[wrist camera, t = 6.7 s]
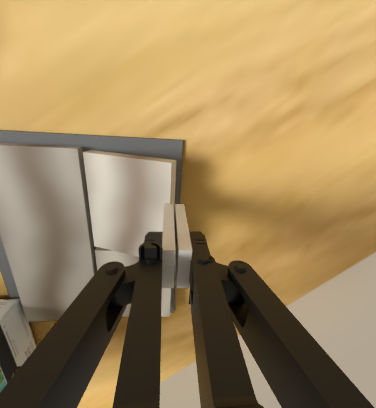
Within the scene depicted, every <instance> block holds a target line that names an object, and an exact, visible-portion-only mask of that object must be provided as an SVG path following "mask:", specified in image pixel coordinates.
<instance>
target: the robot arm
mask: <svg viewBox="0 0 376 408" xmlns="http://www.w3.org/2000/svg"><path fill="white" fill-rule="evenodd" d="M138 249H139V261H138V262H137V263H135V264H133V265H130V266H126V267H125V266H124V264H122V263H121V262H117V261H112V262H108V263H106V264H104V265H102V266H101V267H100V268H99V270H98V271H97V272H96V273H95V275H94V276H93V277H92V278H91V280H90V281H89V282H88V283H87V285H86V286H85V287H84V288H83V290H82V291H81V292H80V293H79V295H78V296H77V297H76V298H75V300H74V301H73V302H72V303H71V305H70V306H69V307H68V308H67V310H66V311H65V312H64V313H63V315H62V316H61V317H60V318H59V320H58V321H57V322H56V323H55V325H54V326H53V327H52V328H51V330H50V331H49V332H48V333H47V335H46V336H45V337H44V338H43V340H42V341H41V342H40V343H39V345H38V346H37V347H36V348H35V350H34V351H33V352H32V353H31V355H30V356H29V357H28V358H27V360H26V361H25V362H24V363H23V365H22V366H21V367H20V368H19V370H18V371H17V372H16V373H15V375H14V376H13V377H12V378H11V380H10V381H9V382H8V383H7V385H6V386H5V387H4V388H3V390H2V391H1V392H0V408H77V406H78V404H79V402H80V400H81V398H82V396H83V394H84V392H85V390H86V388H87V386H88V384H89V382H90V380H91V378H92V376H93V374H94V372H95V370H96V368H97V366H98V364H99V362H100V360H101V358H102V356H103V354H104V352H105V350H106V348H107V346H108V344H109V342H110V340H111V338H112V336H113V334H114V331H115V329H116V327H117V325H118V323H119V321H120V319H121V317H122V315H123V313H124V311H125V309H126V307H127V305H128V304H131V307H130V313H129V319H128V324H127V330H126V335H125V341H124V347H123V352H122V358H121V364H120V369H119V375H118V380H117V386H116V392H115V397H114V403H113V408H159V400H160V399H159V398H160V351H161V301H162V288H174V272H175V264H176V285H177V288H189V283H190V295H189V304H191V314H192V324H193V333H194V343H195V353H196V363H197V372H198V383H199V393H200V402H201V408H264V407H263V406H261V405H260V404H258V402H257V400H256V397H255V394H254V391H253V387H252V384H251V380H250V377H249V374H248V370H247V367H246V364H245V360H244V357H243V353H242V350H241V347H240V343H239V340H238V336H237V333H236V330H235V326H236V328H237V329H238V331H239V333H240V335H241V336H242V338H243V340H244V342H245V343H246V345H247V347H248V348H249V350H250V352H251V354H252V356H253V357H254V359H255V361H256V363H257V365H258V366H259V368H260V370H261V372H262V373H263V375H264V377H265V379H266V380H267V382H268V384H269V386H270V387H271V389H272V391H273V393H274V395H275V396H276V398H277V400H278V402H279V403H280V405H281V407H282V408H374V407H373V406H372V405H371V403H370V402H369V401H368V400H367V399H366V398H365V397H364V395H363V394H362V393H361V392H360V391H359V390H358V389H357V387H356V386H355V385H354V384H353V383H352V382H351V381H350V379H349V378H348V377H347V376H346V375H345V374H344V373H343V371H342V370H341V369H340V368H339V367H338V366H337V365H336V363H335V362H334V361H333V360H332V359H331V358H330V357H329V355H327V354H326V352H325V351H324V350H323V349H322V347H321V346H320V345H319V344H318V343H317V342H316V341H315V339H314V338H313V337H312V336H311V335H310V334H309V333H308V331H307V330H306V329H305V328H304V327H303V326H302V325H301V323H300V322H299V321H298V320H297V319H296V318H295V317H294V315H293V314H292V313H291V312H290V311H289V310H288V309H287V307H286V306H285V305H284V304H283V303H282V302H281V301H280V299H279V298H278V297H277V296H276V295H275V294H274V293H273V291H272V290H271V289H270V288H269V287H268V286H267V285H266V283H265V282H264V281H263V280H262V279H261V278H260V277H259V275H258V274H257V273H256V272H255V271H254V270H253V269H252V267H251V266H250V265H248V264H247V263H245V262H243V261H232V262H231V263H230V264H229V266H226V265H222V264H219V263H216V262H215V260H214V258H213V257H212V256H211V255H210V252H209V249H208V246H207V242H206V239H205V235H203V234H202V233H201V232H189V228H188V223H187V217H186V211H185V205H184V204H175V221H174V211H173V204H164V215H163V232H148V233H147V234H146V235H145V239H144V243H143V244H141V245H140V246H139V248H138ZM233 322H234V323H233ZM234 324H235V326H234Z"/></svg>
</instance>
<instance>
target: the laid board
mask: <svg viewBox="0 0 376 408" xmlns="http://www.w3.org/2000/svg"><path fill="white" fill-rule="evenodd" d="M0 236H1V239H2V242H3V245H4V248H5V252H6V255H7V258H8V261H9V264H10V268H11V271H12V274H13V277H14V280H15V284H16V287H17V290H18V293H19V296H20V299H21V303H22V306H23V309H24V312H25V315H26V319H27V322H32V321H54V320H59V318H60V317H61V316H62V315H63V313H64V312H65V311H66V310H67V308H68V307H69V306H70V305H71V303H72V302H73V301H74V300H75V298H76V297H77V296H78V295H79V293H80V292H81V291H82V290H83V288H84V287H85V286H86V285H87V283H88V282H89V281H90V280H91V278H92V277H93V276H94V275H95V273H96V272H97V264H96V256H95V247H94V240H93V232H92V223H91V215H90V207H89V199H88V191H87V183H86V175H85V166H84V158H83V149H82V147H80V146H59V145H38V144H17V143H0Z"/></svg>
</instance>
